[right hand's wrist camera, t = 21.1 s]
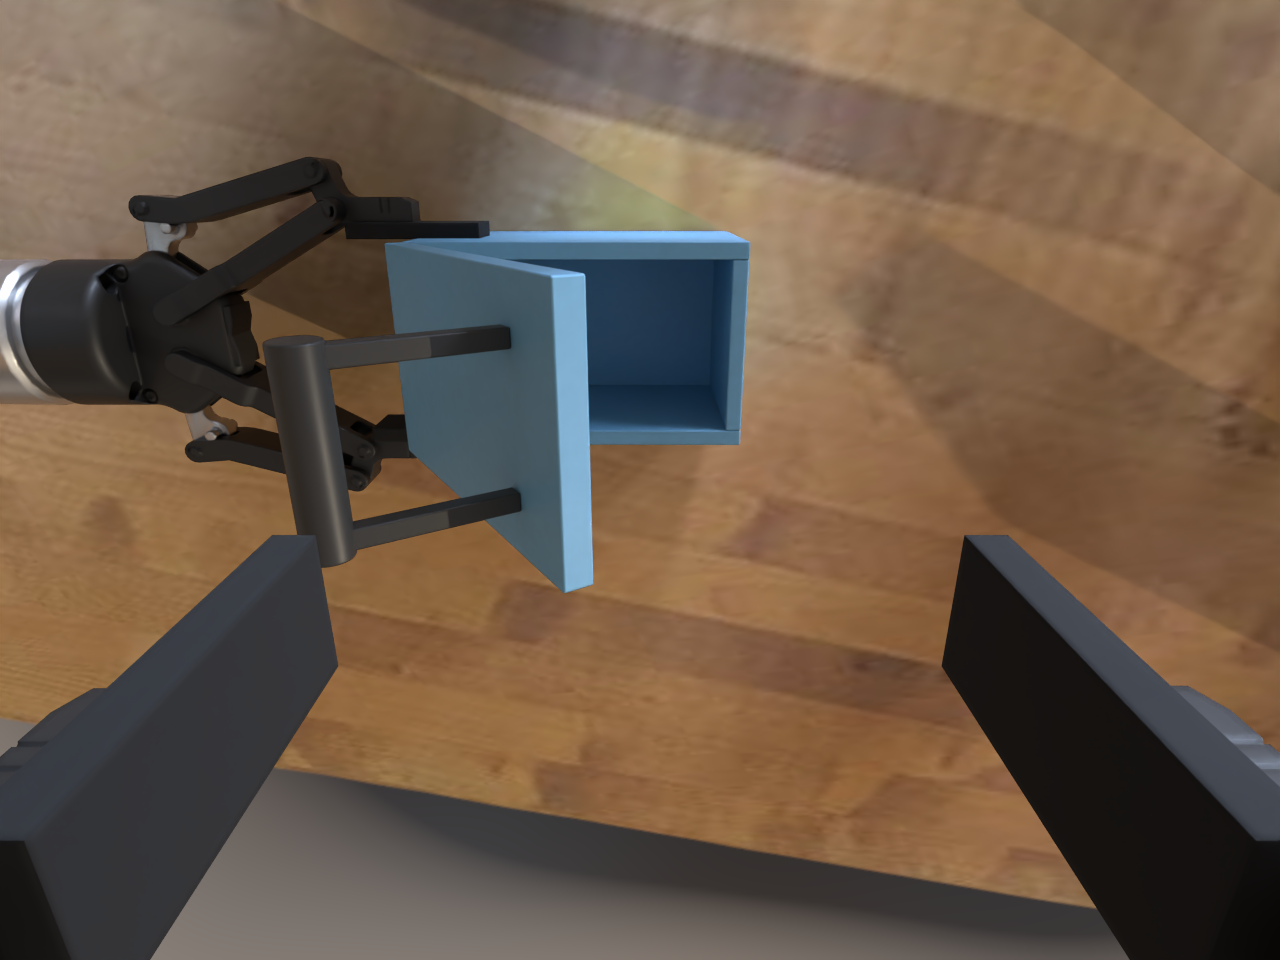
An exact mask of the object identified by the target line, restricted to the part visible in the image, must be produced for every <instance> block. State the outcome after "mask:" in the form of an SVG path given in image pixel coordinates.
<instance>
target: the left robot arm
mask: <svg viewBox="0 0 1280 960" xmlns="http://www.w3.org/2000/svg"><path fill="white" fill-rule="evenodd" d="M309 192H312V193H313V195H314V197H315V199H316V201H317V203H315V204H314V205H312V206H311V207H309V208H308V209H306V210H305V211H303V212H302V213H300V214H298V215H297V216H295V217H294V218H292V219H291V220H289V221H288V222H286V223H285V224H283V225H282V226H280V227H279V228H277V229H275V230H274V231H272V232H271V233H269V234H268V235H266V236H265V237H263V238H262V239H260V240H259V241H257V242H255V243H254V244H252V245H251V246H249V247H248V248H246V249H245V250H243V251H242V252H240V253H239V254H237V255H236V256H234V257H232V258H231V259H229V260H228V261H226V262H225V263H223V264H221V265H218V266H216V267H214V268H212V269H210V270H209V271H208V270H207V269H205V268H204V267H202V266H201V265H199V264H198V263H196V262H194V261H193V260H191V259H190V258H188V257H187V256H185V255H184V254H182V253H180V252H178V246H179V243H180V242H181V241H182V240H184V239H189V238H191V237H193V236H194V235H195V233H196V231H197V229H198V226H197V223H201V222H212V221H217V220H221V219H225V218H228V217H231V216H234V215H238V214H241V213H244V212H247V211H251V210H254V209H257V208H260V207H264V206H267V205H270V204H273V203H277V202H280V201H283V200H286V199H289V198H293V197H296V196H299V195H302V194H306V193H309ZM129 210H130V213H131V214H132V215H133V217H134V218H136V219H137V220H139V221H143V222H144V227H145V234H146V240H147V247H148V252H145V253H143V254H142V255H141V256H139V257H138V258H136V259H132V260H57V261H54V262H52V261H49V260H0V404H36V405H68V404H72V403H78V404H87V405H149V404H160V405H165V406H168V407H171V408H173V409H175V410H177V411H179V412H182V413H185V415H186V418H187V422H188V425H189V428H190V431H191V434H192V438H193V441H191V442H190V443H188V444H187V445H186V447H185V453H186V455H187V457H188V458H189V459H190V460H192V461H194V462H212V461H225V460H231V461H235V462H239V463H243V464H247V465H251V466H255V467H259V468H263V469H267V470H271V471H275V472H279V473H283V474H286V470H285V465H284V459H283V454H282V449H281V443H280V438H279V434H278V433H274V432H270V431H266V430H262V429H257V428H251V427H238V424H237V422H236V421H235V420H233V419H228V418H224V417H220V416H218V415H217V414H215V413H214V411H213V410H212V408H211V406H212V405H213V404H215V403H216V402H217V401H218V400H219V399H221V398H222V397H223V398H225V399H227V400H229V401H231V402H233V403H235V404H237V405H240V406H248V407H253V408H255V409H257V410H259V411H261V412H263V413H265V414H267V415H269V416H272V417H274V418H276V416H275V411H274V406H273V400H272V395H271V389H270V384H269V379H268V373H267V368H266V366H265V365H263V364H261V363H259V362H257V361H256V360H257V359H260V357H259V352H258V347H257V343H256V341H255V339H254V337H253V335H252V332H251V318H252V314H251V309H250V304H249V301H244V299H243V297H242V296H241V295H242V294H244V293H245V292H247V291H249V290H250V289H252V288H253V287H255V286H256V285H258V284H259V283H261V282H262V280H263V279H265V278H266V277H268V276H269V275H271V274H272V273H274V272H275V271H277V270H279V269H280V268H282V267H283V266H285V265H286V264H288V263H290V262H291V261H293V260H294V259H296V258H297V257H299V256H301V255H302V254H304V253H305V252H307V251H308V250H310V249H311V248H313V247H315V246H316V245H318V244H319V243H321V242H322V241H324V240H326V239H327V238H329V237H330V236H332V235H333V234H335V233H336V232H338V231H340V230H341V229H343V228H344V227H345V231H346V239H418V238H483V237H486V236H490V231H489V221H420V211H419V201H416V200H414V199H411V198H409V197H358V196H355V195H354V194H352V193H351V192H350V191H349V190H348V189H347V187H346V185H345V183H344V181H343V179H342V169H341V167H340V166H339V164H338V163H337V162H335V161H334V160H331V159H323V158H315V157H305V158H302V159H298V160H295V161H292V162H289V163H286V164H282V165H279V166H276V167H273V168H270V169H266V170H263V171H260V172H257V173H254V174H251V175H247V176H244V177H241V178H238V179H235V180H231V181H228V182H225V183H222V184H219V185H215V186H212V187H209V188H206V189H203V190H199V191H196V192H193V193H190V194H187V195H183V196H170V195H138V196H134V197H132V198H131V199H130V201H129ZM335 409H336V416H337V422H338V429H339V435H340V442H341V448H342V455H343V461H344V468H345V474H346V481H347V487H348V490H352V491H362V490H364V489H365V488H366V487H367V486H368V485H369V484H370V483H371V481H372V480H373V479H374V478H375V477H376V476H377V475H378V474H379V473H380V471H381V460H382V459H383V458H417V457H416V456H415V455H414V454H413V453H412V452H411V451H410V450H409V446H408V438H407V429H406V421H405V415H387V416H386V417H385V418H384V419H383V420H381V421H380V422H379V423H378V424H377V425H375V424H373V423H371V422H369V421H367V420H365V419H363V418H361V417H359V416H357V415H355V414H353V413H351V412H349V411H347V410H345V409H343V408H341V407H339V406H337V405H335Z"/></svg>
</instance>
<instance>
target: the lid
mask: <svg viewBox="0 0 1280 960" xmlns="http://www.w3.org/2000/svg"><path fill="white" fill-rule="evenodd" d="M385 254H386V262H387V270H388V279H389V287H390V295H391V304H392V312H393V320H394V329H395V334H392V335H382V336H371V337H361V338H350V339H340V340H329V341H325V340H324V339H323V338H322V337H318V336H310V335H299V336H285V337H278V338H273V339H269V340H267V341H265V342H263V345H262V346H263V352H264V357H265V362H266V368H267V373H268V379H269V384H270V389H271V395H272V400H273V406H274V411H275V416H276V422H277V427H278V433H279V438H280V443H281V449H282V454H283V459H284V465H285V470H286V476H287V481H288V486H289V492H290V497H291V503H292V508H293V513H294V519H295V524H296V530H297V535H315V536H316V541H317V547H318V553H319V559H320V564H321V568H326V567H333V566H337V565H340V564H343V563H346V562H348V561H350V560H351V559H353V558H354V557H355V555H356V553H357V550H359V549H363V548H367V547H372V546H376V545H380V544H384V543H389V542H393V541H397V540H401V539H406V538H410V537H414V536H418V535H423V534H427V533H431V532H436V531H440V530H444V529H448V528H453V527H457V526H461V525H465V524H470V523H474V522H478V521H482V520H485V521H486V522H487V523H489V524H490V525H491V526H492V527H493V528H494V529H495V530H496V531H497V532H498V533H499V534H500V535H502V536H503V537H504V538H505V539H506V540H507V541H508V542H509V543H510V544H511V545H512V546H513V547H515V548H516V549H517V550H518V551H519V552H520V553H521V554H522V555H523V556H524V557H525V558H526V559H528V560H529V561H530V562H531V563H532V564H533V565H534V566H535V567H536V568H537V569H538V570H539V571H540V572H542V573H543V574H544V575H545V576H546V577H547V578H548V579H549V580H550V581H551V582H552V583H553V584H555V585H556V586H557V587H558V588H559V589H560V590H561V591H562V592H563V593H567V592H571V591H574V590H577V589H580V588H584V587H587V586H590V585H592V584H593V554H592V516H591V477H590V439H589V400H588V362H587V323H586V285H585V274H583V273H579V272H573V271H567V270H562V269H556V268H550V267H544V266H539V265H533V264H527V263H522V262H516V261H510V260H505V259H499V258H493V257H488V256H482V255H476V254H471V253H465V252H459V251H454V250H448V249H442V248H436V247H431V246H425V245H419V244H414V243H408V242H402V243H385ZM393 362H399V371H400V379H401V387H402V396H403V404H404V412H405V421H406V429H407V438H408V446H409V450H410V451H411V452H412V453H413V454H414V455H415V456H416V457H417V458H418V459H419V460H420V461H421V462H423V463H424V464H425V465H426V466H427V467H428V468H429V469H430V470H431V471H432V472H433V473H434V474H436V475H437V476H438V477H439V478H440V479H441V480H442V481H443V482H444V483H445V484H446V485H447V486H449V487H450V488H451V489H452V490H453V491H454V492H455V493H456V494H457V495H458V496H459V497H460V499H455V500H450V501H446V502H441V503H437V504H432V505H427V506H423V507H418V508H413V509H409V510H404V511H399V512H395V513H390V514H386V515H381V516H376V517H372V518H367V519H362V520H358V521H353V520H352V513H351V507H350V500H349V494H348V487H347V481H346V474H345V468H344V461H343V455H342V448H341V442H340V435H339V429H338V422H337V416H336V409H335V403H334V396H333V390H332V383H331V377H330V371H329V370H332V369H341V368H349V367H358V366H367V365H376V364H384V363H393Z"/></svg>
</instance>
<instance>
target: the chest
mask: <svg viewBox="0 0 1280 960" xmlns="http://www.w3.org/2000/svg"><path fill="white" fill-rule="evenodd" d="M403 242H408V243H414V244H419V245H425V246H431V247H436V248H442V249H448V250H454V251H459V252H465V253H471V254H476V255H482V256H488V257H493V258H499V259H505V260H510V261H516V262H522V263H527V264H533V265H539V266H544V267H550V268H556V269H562V270H567V271H573V272H579V273H583V274H585V285H586V323H587V362H588V400H589V439H590V445H739V444H740V429H741V412H742V392H743V373H744V354H745V334H746V315H747V296H748V276H749V260H748V259H749V258H750V242H749V241H746V240H744V239H742V238H740V237H738V236H735V235H733V234H731V233H729V232H726V231H490V236H486V237H483V238H418V239H413V240H408V241H403ZM401 243H402V242H401Z"/></svg>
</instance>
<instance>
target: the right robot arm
mask: <svg viewBox="0 0 1280 960" xmlns="http://www.w3.org/2000/svg"><path fill="white" fill-rule="evenodd" d="M337 667H338V661H337V656H336V650H335V644H334V639H333V633H332V627H331V621H330V616H329V610H328V604H327V599H326V593H325V587H324V581H323V576H322V570H321V564H320V559H319V553H318V547H317V541H316V536H315V535H272V536H271V537H270V538H269V539H268V540H267V541H265V542H264V543H263V544H262V545H261V546H260V547H259V548H258V549H257V550H256V551H255V552H254V553H252V554H251V555H250V556H249V557H248V558H247V559H246V560H245V561H244V562H243V563H242V564H241V565H240V566H238V567H237V568H236V569H235V570H234V571H233V572H232V573H231V574H230V575H229V576H228V577H227V578H225V579H224V580H223V581H222V582H221V583H220V584H219V585H218V586H217V587H216V588H215V589H214V590H212V591H211V592H210V593H209V594H208V595H207V596H206V597H205V598H204V599H203V600H202V601H201V602H199V603H198V604H197V605H196V606H195V607H194V608H193V609H192V610H191V611H190V612H189V613H188V614H186V615H185V616H184V617H183V618H182V619H181V620H180V621H179V622H178V623H177V624H176V625H175V626H174V627H172V628H171V629H170V630H169V631H168V632H167V633H166V634H165V635H164V636H163V637H162V638H161V639H159V640H158V641H157V642H156V643H155V644H154V645H153V646H152V647H151V648H150V649H149V650H148V651H146V652H145V653H144V654H143V655H142V656H141V657H140V658H139V659H138V660H137V661H136V662H135V663H133V664H132V665H131V666H130V667H129V668H128V669H127V670H126V671H125V672H124V673H123V674H122V675H121V676H119V677H118V678H117V679H116V680H115V681H114V682H113V683H112V684H111V685H110V686H109V687H108V688H93V689H91V690H89V691H88V692H86V693H84V694H82V695H81V696H79V697H77V698H75V699H74V700H72V701H70V702H68V703H67V704H65V705H63V706H61V707H60V708H58V709H56V710H54V711H53V712H51V713H50V714H49V715H47V716H46V717H45V718H44V719H43V720H42V721H41V722H39V723H38V724H37V725H36V726H35V727H34V728H33V729H31V730H30V731H29V732H28V733H27V734H26V735H25V736H24V737H22V738H21V739H20V740H19V741H18V745H17V747H11V748H10V749H9V750H8V751H6V752H5V753H4V754H3V755H2V756H1V757H0V960H150V959H151V958H152V956H153V954H154V953H155V951H156V950H157V948H158V947H159V945H160V944H161V942H162V940H163V939H164V937H165V936H166V934H167V933H168V931H169V929H170V928H171V926H172V925H173V923H174V922H175V920H176V919H177V917H178V915H179V914H180V912H181V911H182V909H183V908H184V906H185V904H186V903H187V901H188V900H189V898H190V897H191V895H192V894H193V892H194V890H195V889H196V887H197V886H198V884H199V883H200V881H201V879H202V878H203V876H204V875H205V873H206V872H207V870H208V868H209V867H210V866H211V864H212V862H213V861H214V859H215V858H216V856H217V854H218V853H219V851H220V850H221V848H222V847H223V845H224V844H225V842H226V841H227V839H228V837H229V836H230V834H231V833H232V831H233V830H234V828H235V826H236V825H237V823H238V822H239V820H240V819H241V817H242V816H243V814H244V812H245V811H246V809H247V808H248V806H249V805H250V803H251V802H252V800H253V798H254V797H255V795H256V794H257V792H258V791H259V789H260V787H261V786H262V784H263V783H264V781H265V780H266V778H267V777H268V775H269V773H270V772H271V770H272V769H273V767H274V766H275V764H276V763H277V761H278V759H279V758H280V756H281V755H282V753H283V752H284V750H285V748H286V747H287V745H288V744H289V742H290V741H291V739H292V738H293V736H294V734H295V733H296V731H297V730H298V728H299V727H300V725H301V724H302V722H303V720H304V719H305V717H306V716H307V714H308V713H309V711H310V709H311V708H312V706H313V705H314V703H315V702H316V700H317V699H318V697H319V695H320V694H321V692H322V691H323V689H324V688H325V686H326V684H327V683H328V681H329V680H330V678H331V677H332V675H333V674H334V672H335V670H336V669H337ZM942 667H943V669H944V670H945V672H946V674H947V675H948V677H949V678H950V680H951V681H952V683H953V685H954V686H955V688H956V689H957V691H958V692H959V694H960V695H961V697H962V699H963V700H964V702H965V703H966V705H967V706H968V708H969V709H970V711H971V713H972V714H973V716H974V717H975V719H976V720H977V722H978V724H979V725H980V727H981V728H982V730H983V731H984V733H985V734H986V736H987V738H988V739H989V741H990V742H991V744H992V745H993V747H994V748H995V750H996V752H997V753H998V755H999V756H1000V758H1001V759H1002V761H1003V763H1004V764H1005V766H1006V767H1007V769H1008V770H1009V772H1010V773H1011V775H1012V777H1013V778H1014V780H1015V781H1016V783H1017V784H1018V786H1019V787H1020V789H1021V791H1022V792H1023V794H1024V795H1025V797H1026V798H1027V800H1028V802H1029V803H1030V805H1031V806H1032V808H1033V809H1034V811H1035V812H1036V814H1037V816H1038V817H1039V819H1040V820H1041V822H1042V823H1043V825H1044V827H1045V828H1046V830H1047V831H1048V833H1049V834H1050V836H1051V837H1052V839H1053V841H1054V842H1055V844H1056V845H1057V847H1058V848H1059V850H1060V851H1061V853H1062V855H1063V856H1064V858H1065V859H1066V861H1067V862H1068V864H1069V866H1070V867H1071V869H1072V870H1073V872H1074V873H1075V875H1076V876H1077V878H1078V880H1079V881H1080V883H1081V884H1082V886H1083V887H1084V889H1085V890H1086V892H1087V894H1088V895H1089V897H1090V898H1091V900H1092V901H1093V903H1094V905H1095V906H1096V908H1097V909H1098V911H1099V912H1100V914H1101V915H1102V917H1103V919H1104V920H1105V922H1106V923H1107V925H1108V926H1109V928H1110V929H1111V931H1112V933H1113V934H1114V936H1115V937H1116V939H1117V940H1118V942H1119V943H1120V945H1121V947H1122V948H1123V950H1124V951H1125V953H1126V954H1127V956H1128V958H1129V959H1130V960H1280V753H1279V752H1278V751H1277V750H1275V749H1274V748H1273V747H1272V746H1271V745H1265V744H1264V742H1263V738H1262V737H1261V736H1259V735H1258V734H1257V733H1256V732H1255V731H1254V730H1253V729H1251V728H1250V727H1249V726H1248V725H1247V724H1246V723H1244V722H1243V721H1242V720H1241V719H1240V718H1239V717H1238V716H1236V715H1235V714H1234V713H1233V712H1232V711H1231V710H1229V709H1227V708H1226V707H1224V706H1222V705H1220V704H1219V703H1217V702H1215V701H1213V700H1212V699H1210V698H1208V697H1206V696H1205V695H1203V694H1201V693H1199V692H1197V691H1196V690H1194V689H1192V688H1190V687H1189V686H1170V685H1169V684H1168V683H1167V682H1166V681H1165V680H1164V679H1163V678H1162V677H1161V676H1159V675H1158V674H1157V673H1156V672H1155V671H1154V670H1153V669H1152V668H1151V667H1150V666H1149V665H1148V664H1147V663H1145V662H1144V661H1143V660H1142V659H1141V658H1140V657H1139V656H1138V655H1137V654H1136V653H1135V652H1134V651H1132V650H1131V649H1130V648H1129V647H1128V646H1127V645H1126V644H1125V643H1124V642H1123V641H1122V640H1121V639H1119V638H1118V637H1117V636H1116V635H1115V634H1114V633H1113V632H1112V631H1111V630H1110V629H1109V628H1108V627H1106V626H1105V625H1104V624H1103V623H1102V622H1101V621H1100V620H1099V619H1098V618H1097V617H1096V616H1095V615H1093V614H1092V613H1091V612H1090V611H1089V610H1088V609H1087V608H1086V607H1085V606H1084V605H1083V604H1082V603H1081V602H1079V601H1078V600H1077V599H1076V598H1075V597H1074V596H1073V595H1072V594H1071V593H1070V592H1069V591H1068V590H1066V589H1065V588H1064V587H1063V586H1062V585H1061V584H1060V583H1059V582H1058V581H1057V580H1056V579H1055V578H1053V577H1052V576H1051V575H1050V574H1049V573H1048V572H1047V571H1046V570H1045V569H1044V568H1043V567H1042V566H1040V565H1039V564H1038V563H1037V562H1036V561H1035V560H1034V559H1033V558H1032V557H1031V556H1030V555H1029V554H1027V553H1026V552H1025V551H1024V550H1023V549H1022V548H1021V547H1020V546H1019V545H1018V544H1017V543H1016V542H1015V541H1013V540H1012V539H1011V538H1010V537H1009V536H1008V535H965V536H964V541H963V547H962V553H961V558H960V564H959V570H958V576H957V581H956V587H955V593H954V598H953V604H952V610H951V616H950V621H949V627H948V633H947V638H946V644H945V650H944V656H943V661H942Z"/></svg>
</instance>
